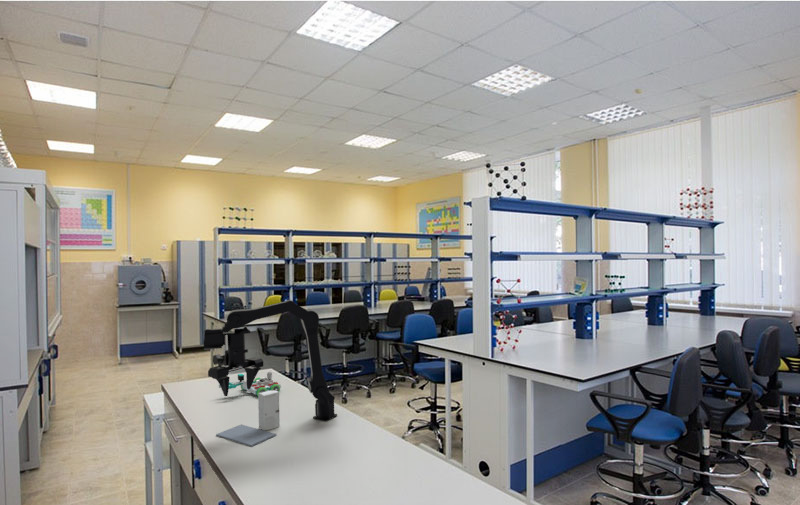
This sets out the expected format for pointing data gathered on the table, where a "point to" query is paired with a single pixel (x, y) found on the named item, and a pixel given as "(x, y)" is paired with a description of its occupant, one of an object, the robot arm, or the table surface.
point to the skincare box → (268, 410)
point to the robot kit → (257, 384)
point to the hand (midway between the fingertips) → (237, 392)
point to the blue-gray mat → (246, 435)
